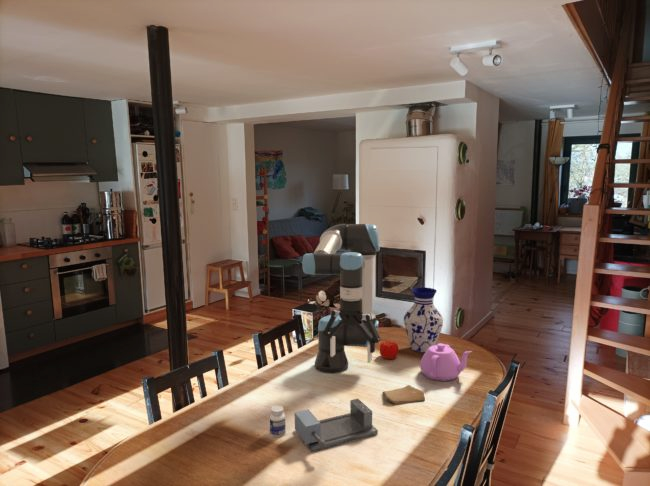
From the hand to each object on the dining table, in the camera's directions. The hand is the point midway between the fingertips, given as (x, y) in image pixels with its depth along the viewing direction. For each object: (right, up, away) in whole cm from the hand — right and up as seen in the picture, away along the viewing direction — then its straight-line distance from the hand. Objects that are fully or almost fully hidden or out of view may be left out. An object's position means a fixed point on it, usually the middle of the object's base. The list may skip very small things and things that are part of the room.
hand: (351, 358), depth 162 cm
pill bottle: (-25, -24, -4) cm, 35 cm away
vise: (-5, -24, -4) cm, 25 cm away
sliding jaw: (-13, -23, -12) cm, 29 cm away
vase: (+39, -13, +71) cm, 82 cm away
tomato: (+21, -15, +61) cm, 66 cm away
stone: (+22, -21, +21) cm, 37 cm away
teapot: (+43, -18, +40) cm, 61 cm away
